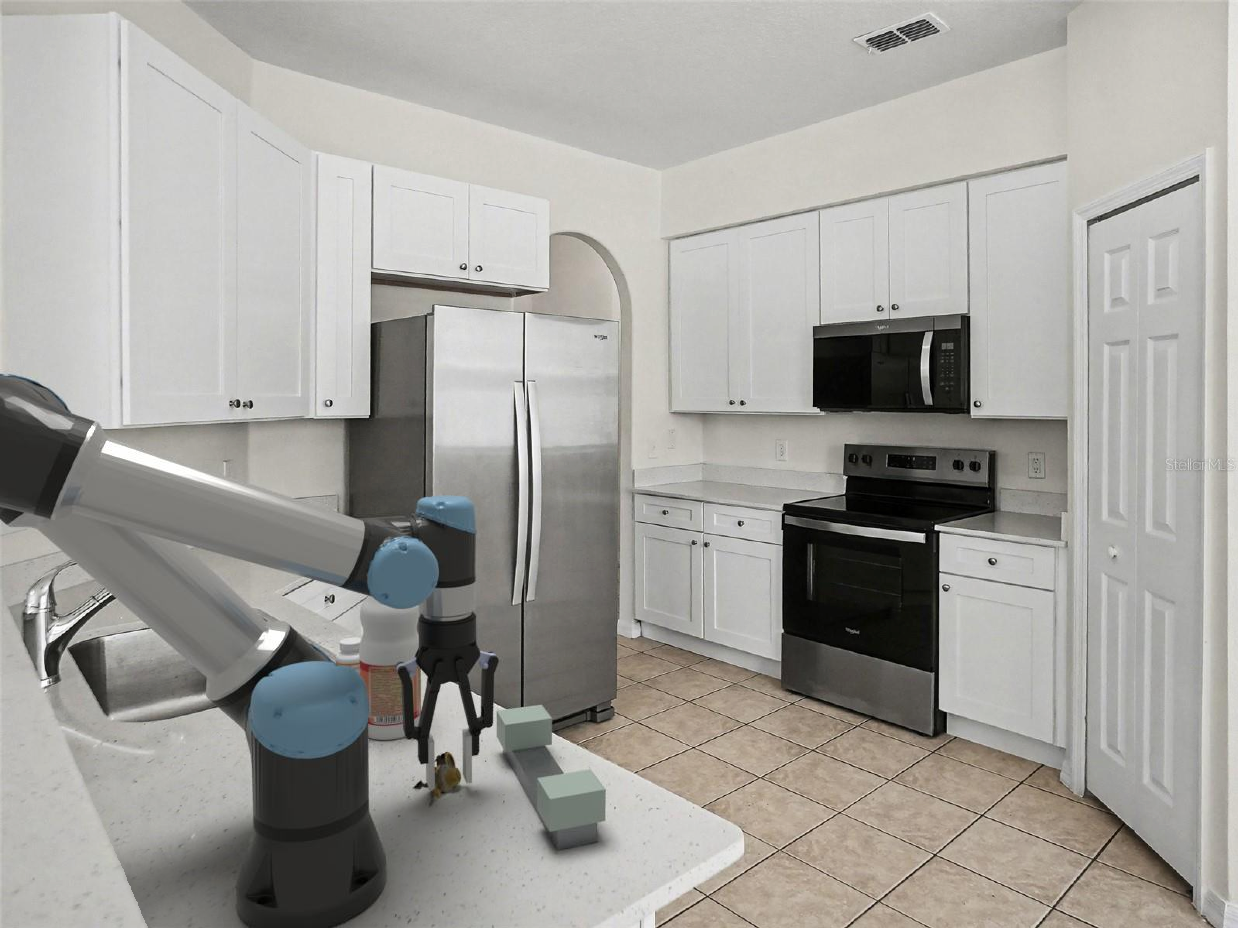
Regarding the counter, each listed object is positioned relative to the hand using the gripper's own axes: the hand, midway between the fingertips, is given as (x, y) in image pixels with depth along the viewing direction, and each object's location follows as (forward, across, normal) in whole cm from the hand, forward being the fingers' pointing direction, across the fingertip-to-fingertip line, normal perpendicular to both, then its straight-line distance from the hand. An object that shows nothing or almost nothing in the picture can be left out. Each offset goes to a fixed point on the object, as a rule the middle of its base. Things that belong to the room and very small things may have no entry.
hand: (449, 781), depth 108 cm
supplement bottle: (+2, +10, -42) cm, 43 cm away
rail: (+2, -12, +4) cm, 13 cm away
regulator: (+3, +2, 0) cm, 3 cm away
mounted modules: (-1, -12, +4) cm, 13 cm away
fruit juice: (+2, +5, -24) cm, 24 cm away
